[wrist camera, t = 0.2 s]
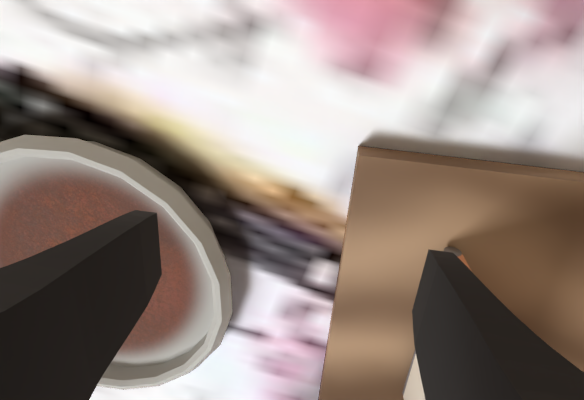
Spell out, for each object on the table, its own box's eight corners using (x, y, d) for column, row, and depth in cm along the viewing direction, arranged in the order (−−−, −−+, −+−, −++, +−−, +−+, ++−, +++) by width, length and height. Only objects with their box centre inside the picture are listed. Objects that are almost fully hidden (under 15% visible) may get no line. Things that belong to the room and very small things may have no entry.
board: (568, 441, 27) (577, 460, 26) (318, 400, 29) (316, 416, 28) (723, 188, 19) (745, 201, 18) (358, 145, 20) (358, 155, 19)
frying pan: (-311, -68, 18) (284, 254, 20) (-226, -62, 20) (293, 223, 23) (-262, 230, 25) (164, 434, 28) (-205, 208, 28) (180, 396, 31)
